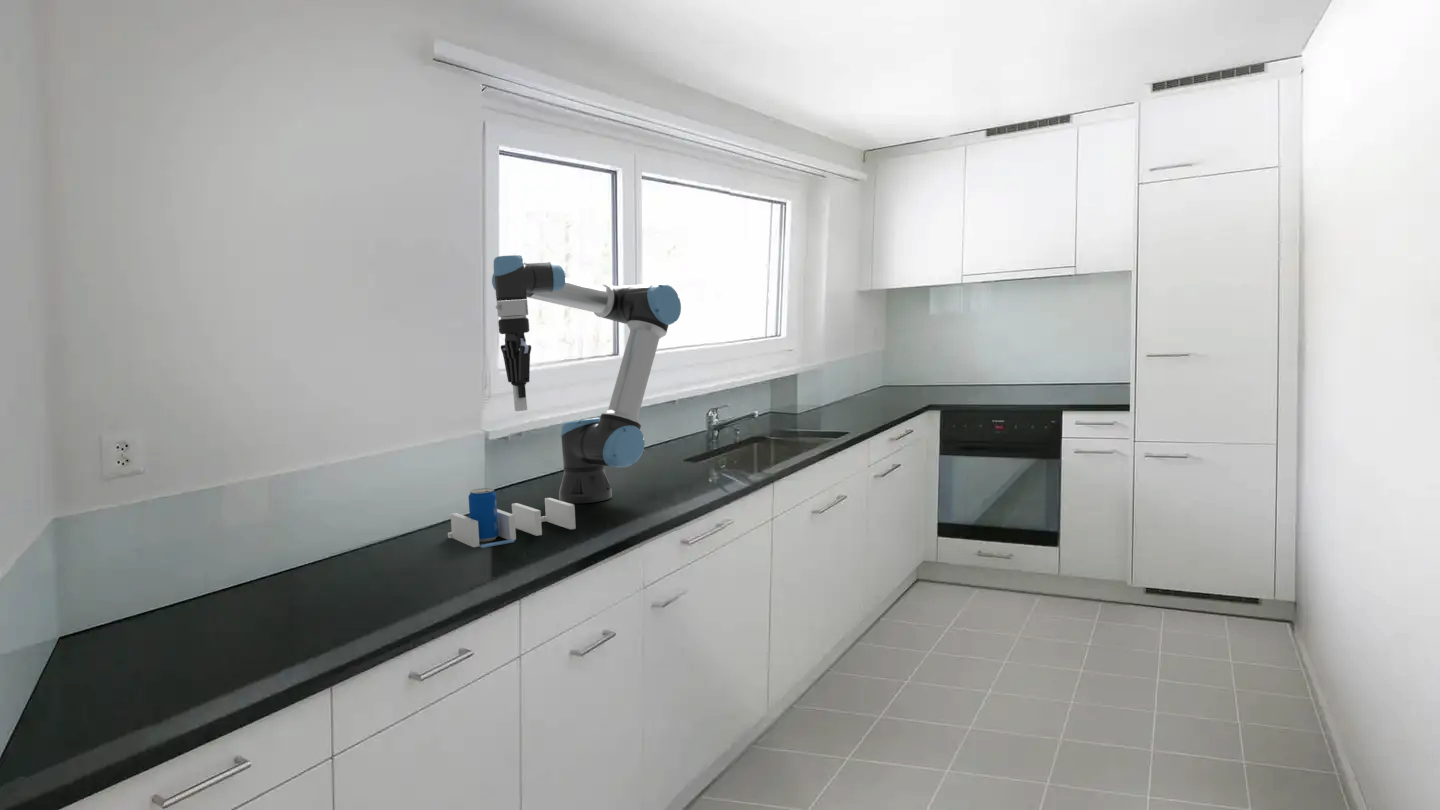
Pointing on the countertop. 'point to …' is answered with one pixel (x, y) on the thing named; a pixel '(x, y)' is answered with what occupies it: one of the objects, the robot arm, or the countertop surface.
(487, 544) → the blue bezel
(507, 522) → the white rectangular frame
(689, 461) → the countertop surface
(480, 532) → the beverage can
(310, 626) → the countertop surface
